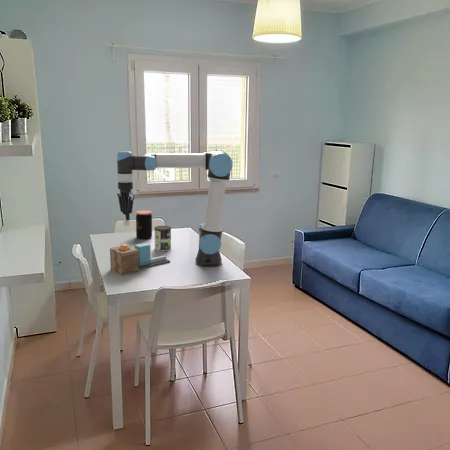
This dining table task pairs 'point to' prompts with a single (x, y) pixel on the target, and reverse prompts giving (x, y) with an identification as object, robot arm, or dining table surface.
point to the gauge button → (123, 247)
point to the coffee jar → (144, 224)
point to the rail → (155, 262)
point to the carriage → (143, 253)
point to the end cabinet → (124, 260)
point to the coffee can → (162, 238)
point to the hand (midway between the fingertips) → (126, 225)
